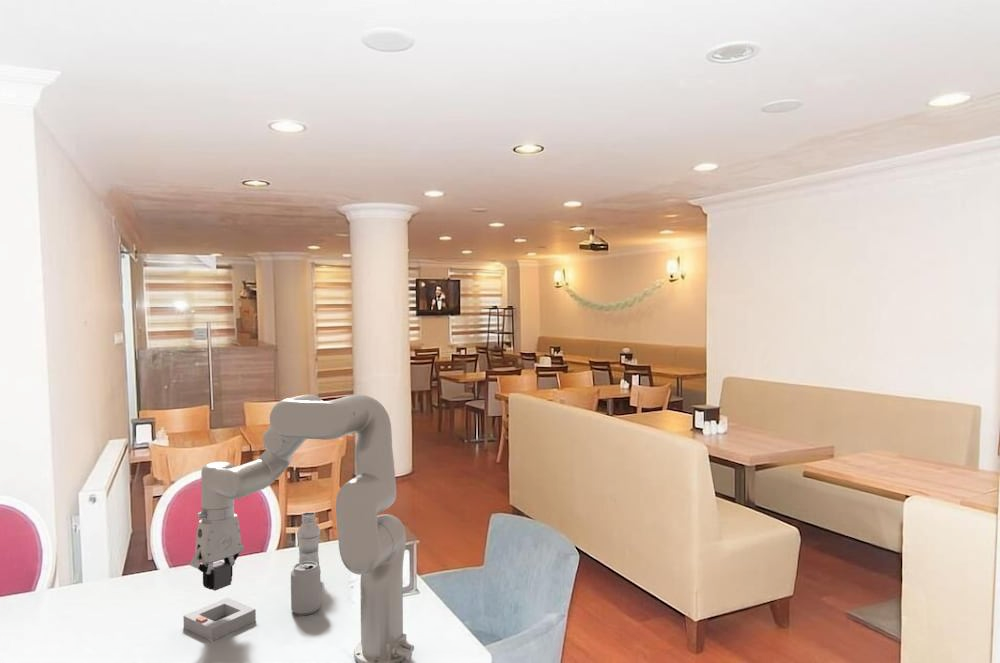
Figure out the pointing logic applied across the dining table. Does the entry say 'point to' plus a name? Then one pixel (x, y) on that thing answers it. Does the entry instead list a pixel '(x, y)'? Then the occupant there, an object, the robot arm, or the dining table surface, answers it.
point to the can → (305, 588)
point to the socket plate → (213, 630)
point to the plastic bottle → (308, 539)
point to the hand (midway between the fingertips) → (217, 583)
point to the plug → (221, 575)
